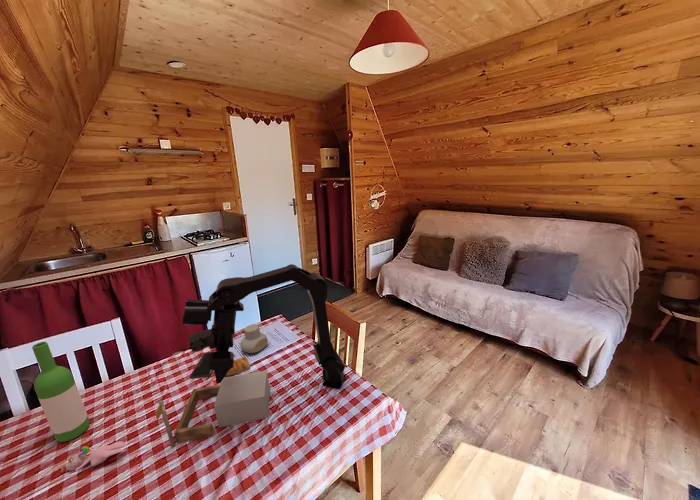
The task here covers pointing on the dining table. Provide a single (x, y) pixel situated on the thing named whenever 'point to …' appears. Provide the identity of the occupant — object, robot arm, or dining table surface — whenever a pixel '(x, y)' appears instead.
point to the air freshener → (253, 339)
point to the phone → (202, 368)
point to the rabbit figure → (93, 456)
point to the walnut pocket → (189, 417)
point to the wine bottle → (59, 396)
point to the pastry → (239, 366)
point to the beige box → (242, 398)
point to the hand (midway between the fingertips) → (219, 372)
